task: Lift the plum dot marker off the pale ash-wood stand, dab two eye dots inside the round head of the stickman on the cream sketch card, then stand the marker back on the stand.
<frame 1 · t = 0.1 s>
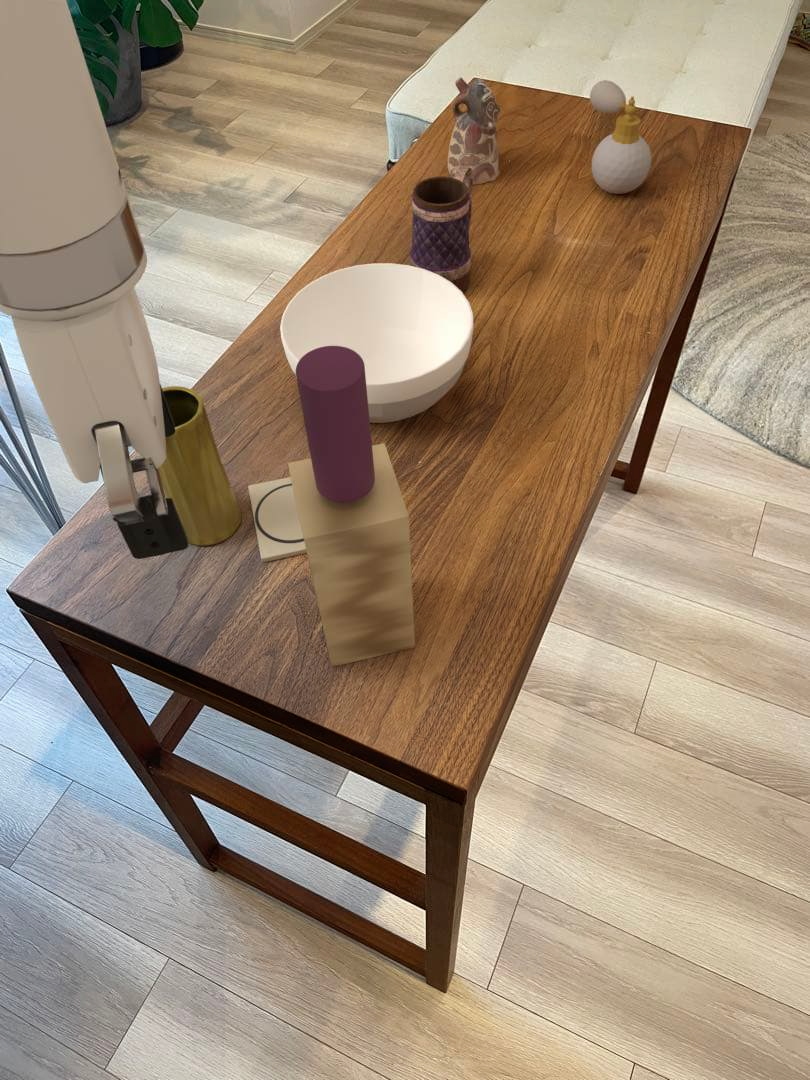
hand: (156, 490, 52), 21 cm above the table, tool pointing down, fingers open, 9 cm apart
perfume bottle: (608, 187, 110), on the table
sketch card: (313, 512, 77), on the table
vase: (209, 522, 77), on the table
mug: (447, 277, 99), on the table
bowl: (381, 388, 88), on the table
figurine: (473, 173, 114), on the table
dot marker: (346, 488, 56), point 17 cm above the table, touching stand
stand: (364, 622, 70), on the table
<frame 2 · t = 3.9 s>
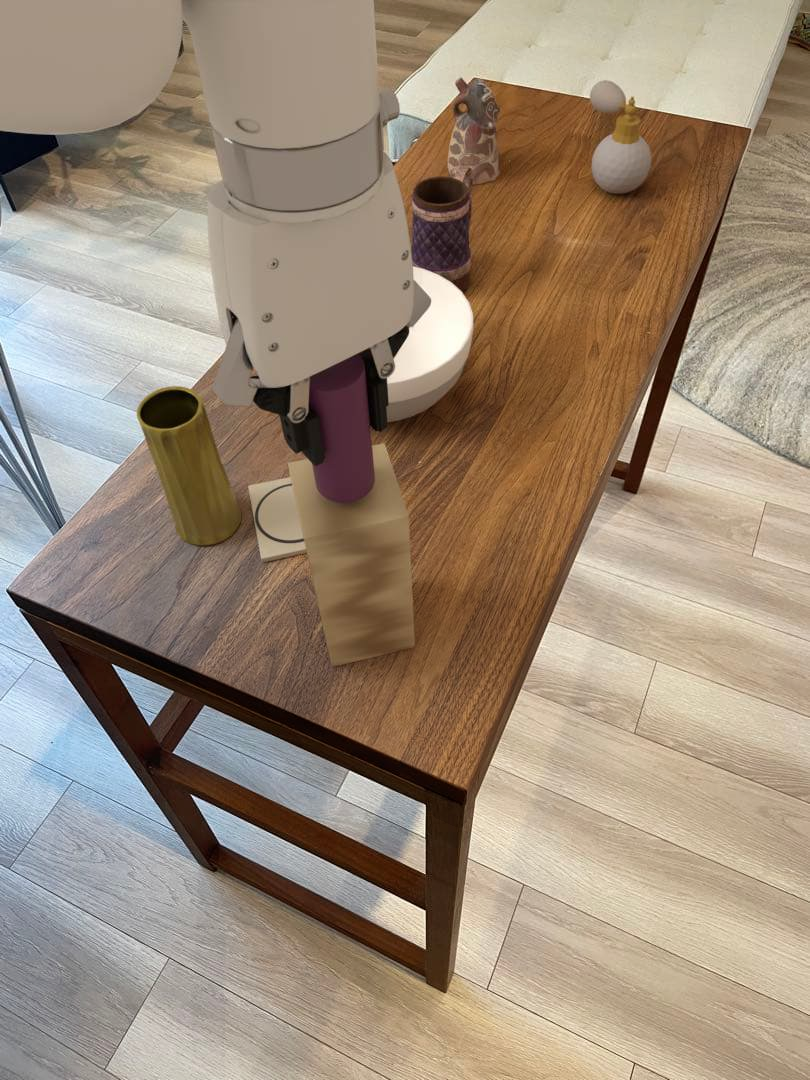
hand: (338, 432, 52), 22 cm above the table, tool pointing down, fingers closed on dot marker, 4 cm apart
dot marker: (346, 488, 56), point 17 cm above the table, touching gripper, stand
everything else where it was.
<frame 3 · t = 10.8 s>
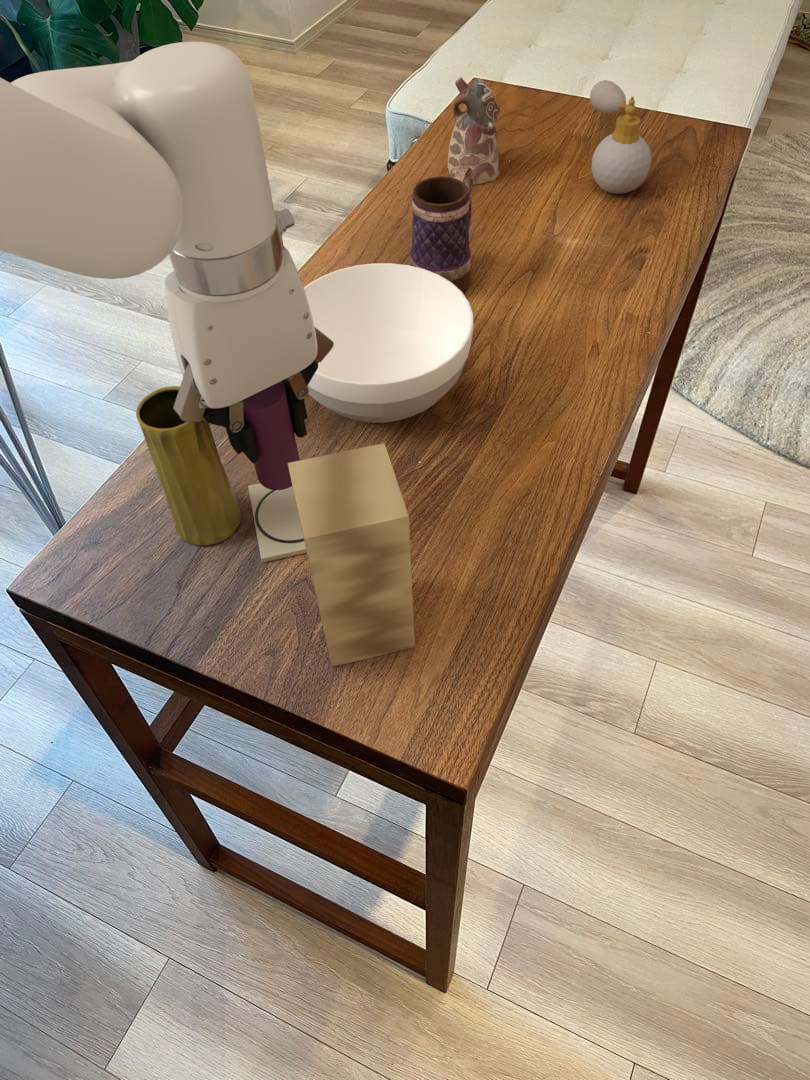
hand: (271, 438, 71), 9 cm above the table, tool pointing down, fingers closed on dot marker, 4 cm apart
dot marker: (281, 479, 75), point 4 cm above the table, touching gripper
everything else where it was.
when the fingers open (22 cm above the table, at t = 22.0 s): dot marker stays where it is, resting on stand.
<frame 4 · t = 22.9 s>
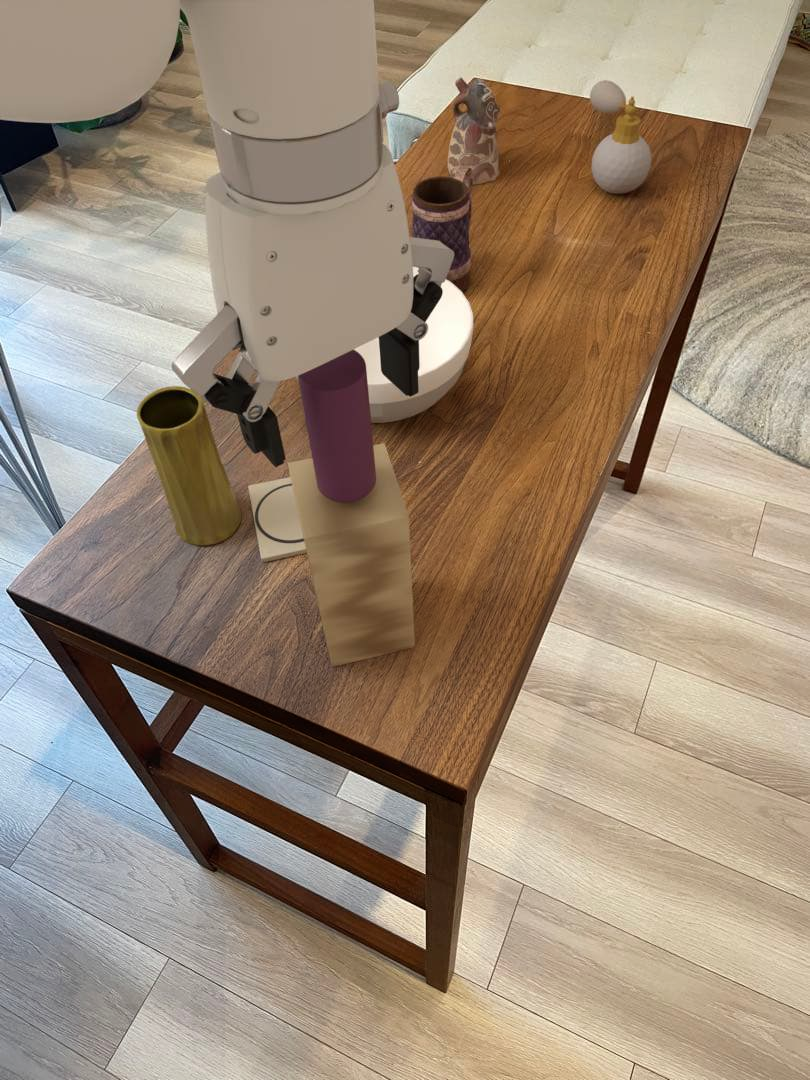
hand: (336, 416, 51), 24 cm above the table, tool pointing down, fingers open, 9 cm apart
dot marker: (347, 488, 56), point 17 cm above the table, touching stand
everything else where it was.
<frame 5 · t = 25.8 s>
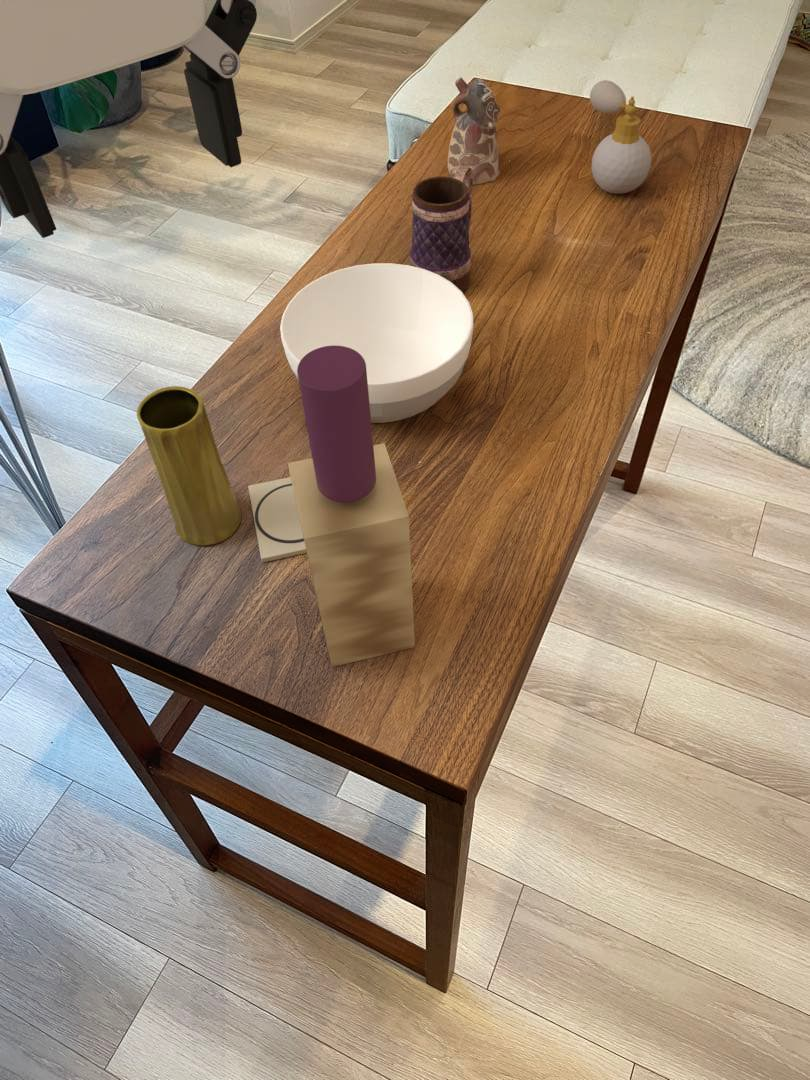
hand: (134, 188, 40), 38 cm above the table, tool pointing down, fingers open, 9 cm apart
nothing on the table moved.
at the end: dot marker 0.1 cm off-centre on the stand, point 17.0 cm above the stand's base; dot marker tilted 0°; dot marker touching stand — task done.
